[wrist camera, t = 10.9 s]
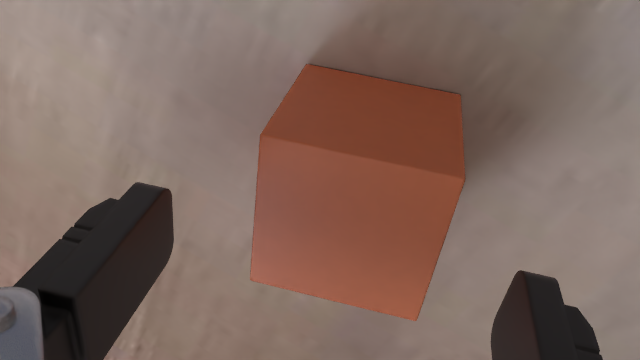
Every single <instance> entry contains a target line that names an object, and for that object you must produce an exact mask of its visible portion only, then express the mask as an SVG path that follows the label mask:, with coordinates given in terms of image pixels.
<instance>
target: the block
mask: <svg viewBox="0 0 640 360" xmlns="http://www.w3.org/2000/svg"><path fill="white" fill-rule="evenodd" d="M464 182H465V163H464V145H463V127H462V109H461V95H459V94H454V93H449V92H444V91H439V90H434V89H429V88H424V87H419V86H414V85H409V84H404V83H399V82H394V81H389V80H384V79H379V78H374V77H369V76H364V75H359V74H354V73H349V72H344V71H339V70H334V69H329V68H324V67H319V66H314V65H309V64H306V65H305V67H304V68H303V70H302V71H301V73H300V75H299V76H298V78H297V79H296V81H295V82H294V84H293V85H292V87H291V88H290V90H289V91H288V93H287V94H286V96H285V98H284V99H283V101H282V102H281V104H280V105H279V107H278V108H277V110H276V111H275V113H274V114H273V116H272V117H271V119H270V121H269V122H268V124H267V125H266V127H265V128H264V130H263V131H262V133H261V134H260V144H259V158H258V173H257V187H256V201H255V216H254V230H253V244H252V259H251V273H250V280H251V281H255V282H259V283H263V284H267V285H271V286H275V287H279V288H283V289H287V290H291V291H295V292H300V293H304V294H308V295H312V296H316V297H320V298H324V299H328V300H332V301H336V302H340V303H344V304H348V305H352V306H356V307H360V308H364V309H368V310H373V311H377V312H381V313H385V314H389V315H393V316H397V317H401V318H405V319H409V320H413V321H416V320H417V319H418V316H419V313H420V310H421V307H422V304H423V301H424V298H425V295H426V292H427V290H428V287H429V284H430V281H431V278H432V275H433V272H434V269H435V266H436V263H437V261H438V258H439V255H440V252H441V249H442V246H443V243H444V240H445V237H446V234H447V232H448V229H449V226H450V223H451V220H452V217H453V214H454V211H455V208H456V205H457V202H458V200H459V197H460V194H461V191H462V188H463V185H464Z"/></svg>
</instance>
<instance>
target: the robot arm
mask: <svg viewBox="0 0 640 360" xmlns="http://www.w3.org/2000/svg"><path fill="white" fill-rule="evenodd" d="M173 241H174V234H173V211H172V194H171V191H170V190H169V189H166V188H162V187H158V186H153V185H149V184H144V183H140V182H137V183H135V184H133V185H132V186H131V188H130V189H129V190H128V191H127V192H126V193H125V194H124V195H123V196H122V197H121V198H120V199H119V200H116V199H112V198H109V199H107V200H105V201H104V202H102V203H100V204H98V205H96V206H94V207H92V208H90V209H89V210H88V211H87V212H86V213H85V214H84V215H83V216H82V217H81V218H80V219H79V220H78V221H77V222H76V223H75V225H74V227H71V228H70V229H69V230H68V231H67V232H66V233H65V234H64V235H63V238H62V239H59V240H58V241H57V242H56V243H55V244H54V245H53V246H52V247H51V248H50V249H49V250H48V251H47V252H46V253H45V254H44V255H43V257H42V258H41V259H40V260H39V261H38V262H37V263H36V264H35V265H34V266H33V267H32V268H31V269H30V270H29V271H28V272H27V273H26V274H25V275H24V276H23V277H22V278H21V279H20V280H19V281H18V282H17V283H16V284H15V285H14V286H13V287H0V360H103V359H104V357H105V356H106V354H107V353H108V351H109V350H110V348H111V347H112V345H113V344H114V342H115V341H116V339H117V338H118V336H119V335H120V333H121V332H122V330H123V329H124V327H125V326H126V324H127V323H128V321H129V320H130V318H131V317H132V315H133V314H134V312H135V311H136V309H137V308H138V306H139V305H140V303H141V302H142V300H143V299H144V297H145V296H146V294H147V293H148V291H149V290H150V288H151V287H152V285H153V284H154V282H155V281H156V279H157V278H158V276H159V275H160V273H161V272H162V270H163V269H164V267H165V266H166V264H167V262H168V260H169V258H170V255H171V252H172V248H173ZM491 350H492V360H603V359H602V356H601V355H599V352H600V350H599V346H598V343H597V340H596V337H595V334H594V330H593V328H592V327H591V326H590V324H589V323H588V322H587V320H586V319H585V318H584V316H583V315H582V314H581V312H580V311H579V310H578V308H576V307H572V306H568V305H564V302H563V299H562V295H561V291H560V287H559V284H558V281H557V280H556V279H555V278H552V277H548V276H543V275H539V274H535V273H530V272H526V271H521V270H520V271H518V272H517V273H516V274H515V276H514V278H513V280H512V282H511V285H510V287H509V289H508V291H507V293H506V295H505V297H504V299H503V302H502V304H501V306H500V308H499V310H498V312H497V314H496V317H495V319H494V323H493V327H492V333H491Z"/></svg>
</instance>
